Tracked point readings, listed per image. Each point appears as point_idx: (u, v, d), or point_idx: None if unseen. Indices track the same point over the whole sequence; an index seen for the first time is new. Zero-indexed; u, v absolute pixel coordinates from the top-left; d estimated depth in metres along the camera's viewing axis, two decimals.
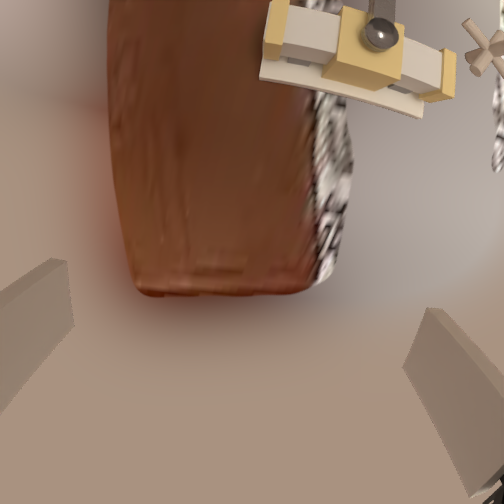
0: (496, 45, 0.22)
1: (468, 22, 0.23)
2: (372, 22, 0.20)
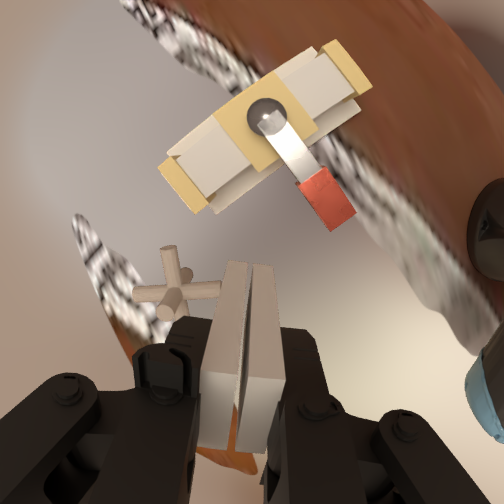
0: (176, 297, 0.31)
1: (218, 288, 0.33)
2: (283, 115, 0.22)
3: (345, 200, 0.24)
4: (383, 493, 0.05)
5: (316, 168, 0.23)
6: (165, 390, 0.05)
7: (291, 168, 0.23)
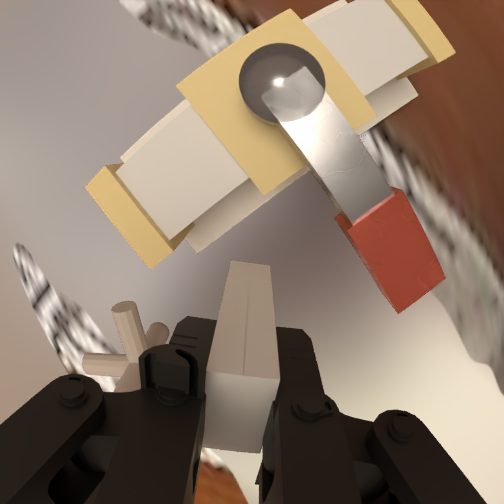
0: (138, 382, 0.19)
1: None
2: (317, 79, 0.10)
3: (430, 256, 0.11)
4: (379, 494, 0.05)
5: (383, 193, 0.11)
6: (171, 391, 0.05)
7: (334, 192, 0.11)
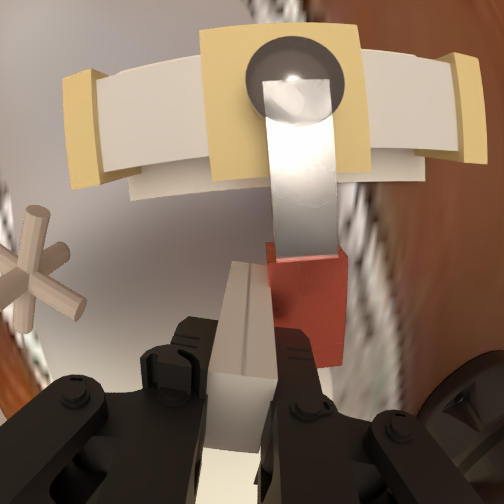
0: (13, 289, 0.16)
1: (74, 308, 0.18)
2: (332, 98, 0.08)
3: (338, 337, 0.11)
4: (377, 494, 0.05)
5: (327, 249, 0.10)
6: (173, 391, 0.05)
7: (276, 218, 0.10)
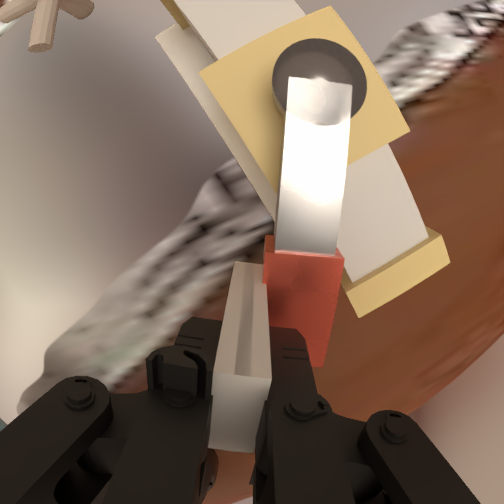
0: None
1: (38, 41, 0.13)
2: (353, 104, 0.09)
3: (323, 337, 0.11)
4: (372, 494, 0.05)
5: (325, 247, 0.10)
6: (179, 392, 0.05)
7: (281, 209, 0.10)
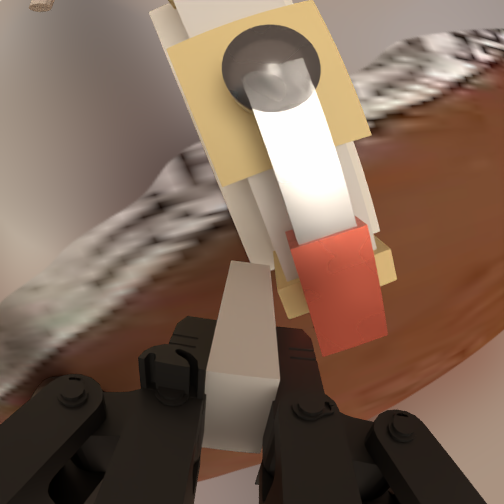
0: None
1: (39, 1, 0.11)
2: (311, 75, 0.08)
3: (377, 307, 0.10)
4: (379, 493, 0.05)
5: (345, 221, 0.10)
6: (171, 391, 0.05)
7: (288, 203, 0.10)
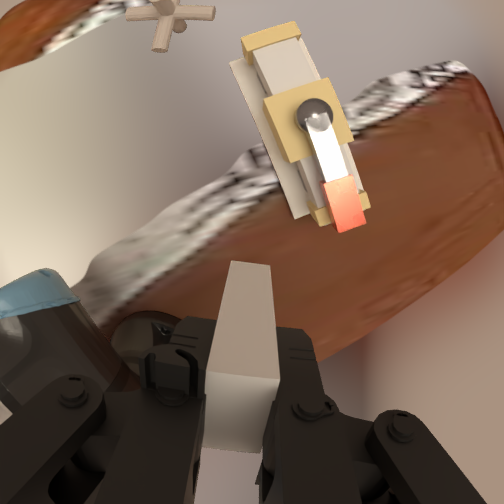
0: (166, 9, 0.24)
1: (161, 47, 0.27)
2: (330, 119, 0.24)
3: (359, 209, 0.26)
4: (379, 494, 0.05)
5: (343, 173, 0.25)
6: (171, 391, 0.05)
7: (322, 166, 0.25)
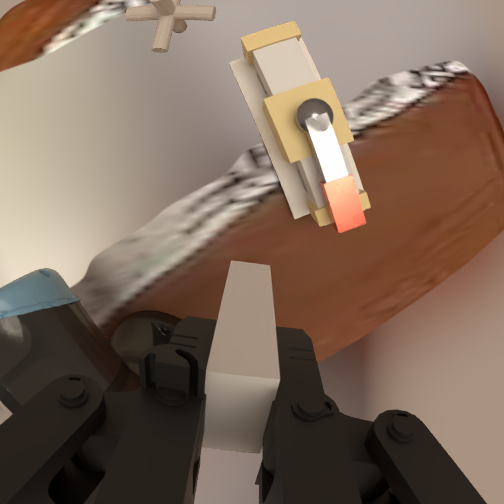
0: (166, 8, 0.24)
1: (161, 46, 0.27)
2: (330, 119, 0.24)
3: (360, 209, 0.26)
4: (379, 493, 0.05)
5: (343, 174, 0.25)
6: (171, 391, 0.05)
7: (322, 167, 0.25)
